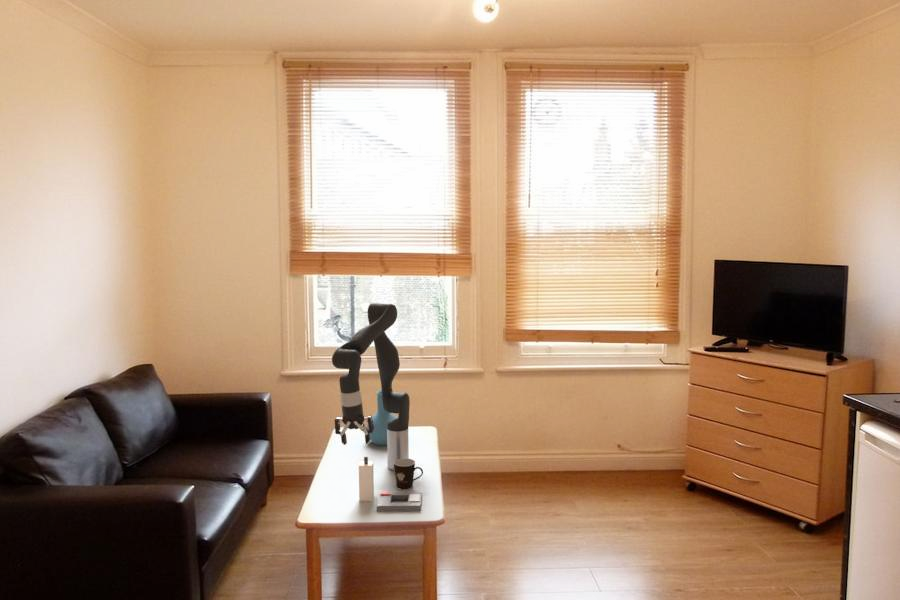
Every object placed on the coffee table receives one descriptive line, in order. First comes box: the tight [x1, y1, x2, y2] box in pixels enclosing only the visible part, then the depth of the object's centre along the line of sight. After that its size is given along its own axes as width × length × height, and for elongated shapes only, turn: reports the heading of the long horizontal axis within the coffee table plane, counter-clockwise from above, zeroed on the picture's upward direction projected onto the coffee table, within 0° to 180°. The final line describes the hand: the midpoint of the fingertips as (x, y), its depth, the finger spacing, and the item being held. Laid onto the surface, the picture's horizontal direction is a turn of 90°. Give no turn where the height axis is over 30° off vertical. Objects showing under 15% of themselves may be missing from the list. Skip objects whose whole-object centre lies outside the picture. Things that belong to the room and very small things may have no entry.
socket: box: [376, 490, 422, 512], centre depth 230 cm, size 12×16×3 cm
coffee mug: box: [393, 458, 424, 491], centre depth 245 cm, size 12×9×10 cm
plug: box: [358, 456, 375, 502], centre depth 234 cm, size 4×5×16 cm
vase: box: [366, 390, 398, 446], centre depth 297 cm, size 16×16×25 cm
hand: (356, 443), depth 228 cm, fingers open, 8 cm apart
